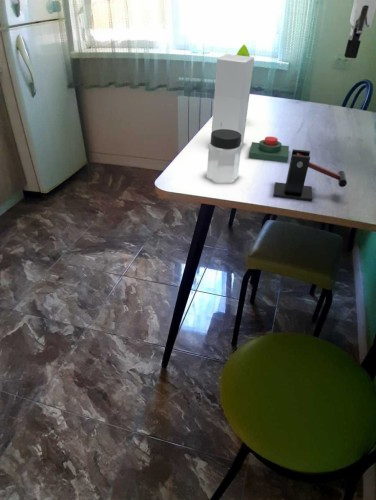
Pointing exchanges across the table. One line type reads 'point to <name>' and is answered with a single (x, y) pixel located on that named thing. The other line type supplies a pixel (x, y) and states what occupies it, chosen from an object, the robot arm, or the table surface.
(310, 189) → the lever stand
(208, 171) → the jar
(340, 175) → the red lever handle
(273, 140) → the button
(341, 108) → the table surface
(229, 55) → the tall white carton
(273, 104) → the table surface
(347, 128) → the table surface
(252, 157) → the button box
